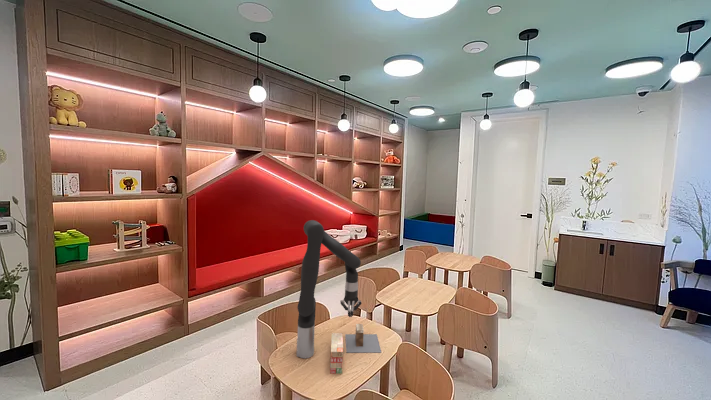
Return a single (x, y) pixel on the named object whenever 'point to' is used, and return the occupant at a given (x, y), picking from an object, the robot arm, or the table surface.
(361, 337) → the walnut block
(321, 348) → the table surface
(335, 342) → the stack of blocks
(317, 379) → the table surface
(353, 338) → the mat
